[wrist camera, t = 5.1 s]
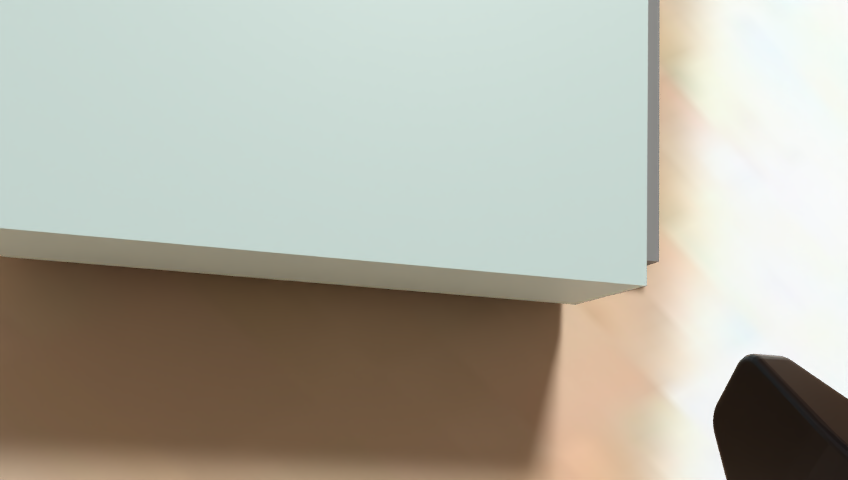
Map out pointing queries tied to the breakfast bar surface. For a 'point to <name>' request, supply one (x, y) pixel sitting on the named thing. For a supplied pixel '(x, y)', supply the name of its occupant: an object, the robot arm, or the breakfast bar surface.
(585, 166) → the grey-green slab
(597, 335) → the breakfast bar surface
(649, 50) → the mat
